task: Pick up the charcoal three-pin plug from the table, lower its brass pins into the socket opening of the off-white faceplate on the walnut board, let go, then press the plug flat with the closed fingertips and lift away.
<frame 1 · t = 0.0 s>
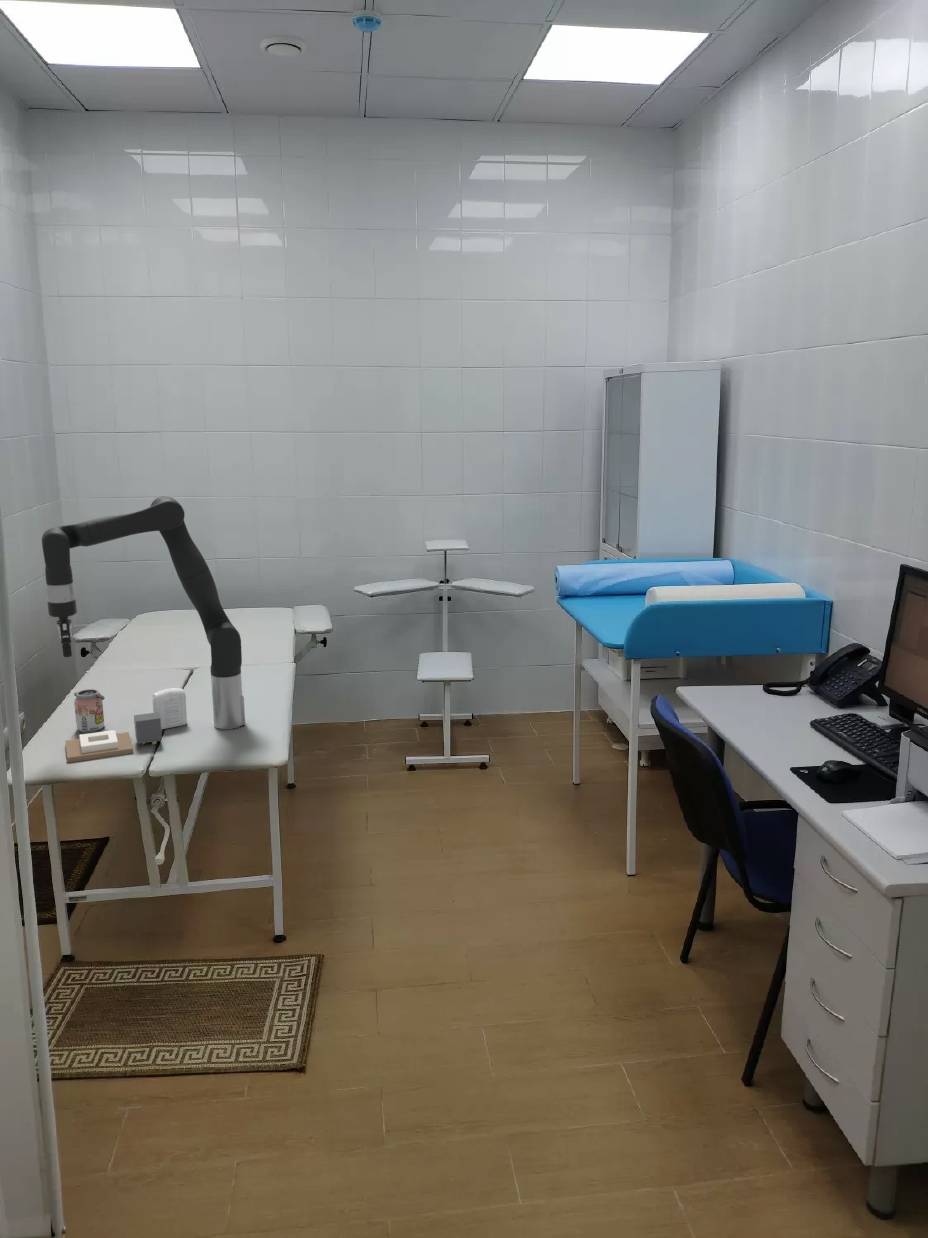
hand: (67, 652, 275), 29 cm above the table, tool pointing down, fingers open, 8 cm apart
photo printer: (171, 726, 299), on the table
beverage can: (92, 728, 297), on the table
plug: (149, 743, 285), on the table
socket: (99, 749, 281), on the table
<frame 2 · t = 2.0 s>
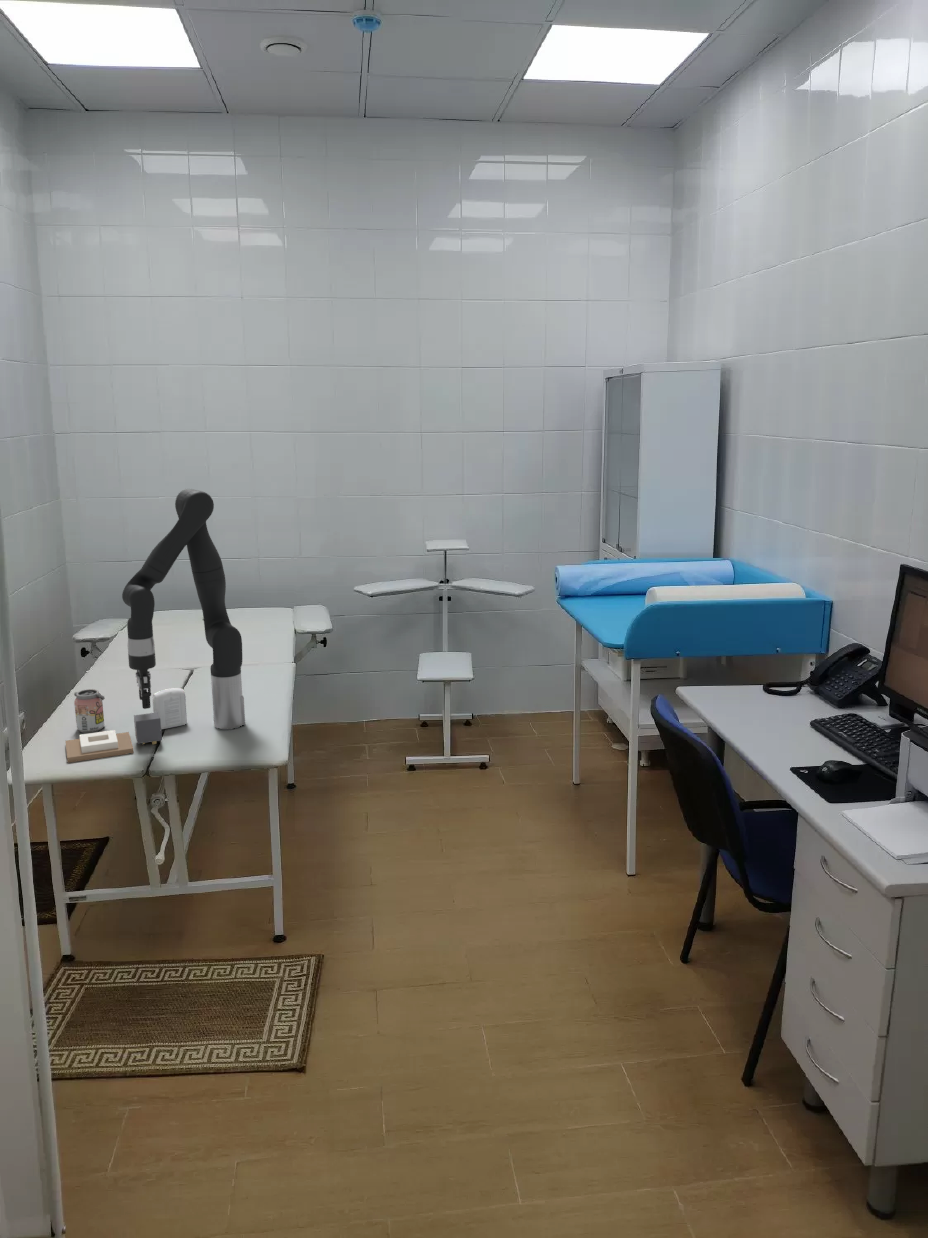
hand: (145, 703, 282), 13 cm above the table, tool pointing down, fingers open, 8 cm apart
nothing on the table moved.
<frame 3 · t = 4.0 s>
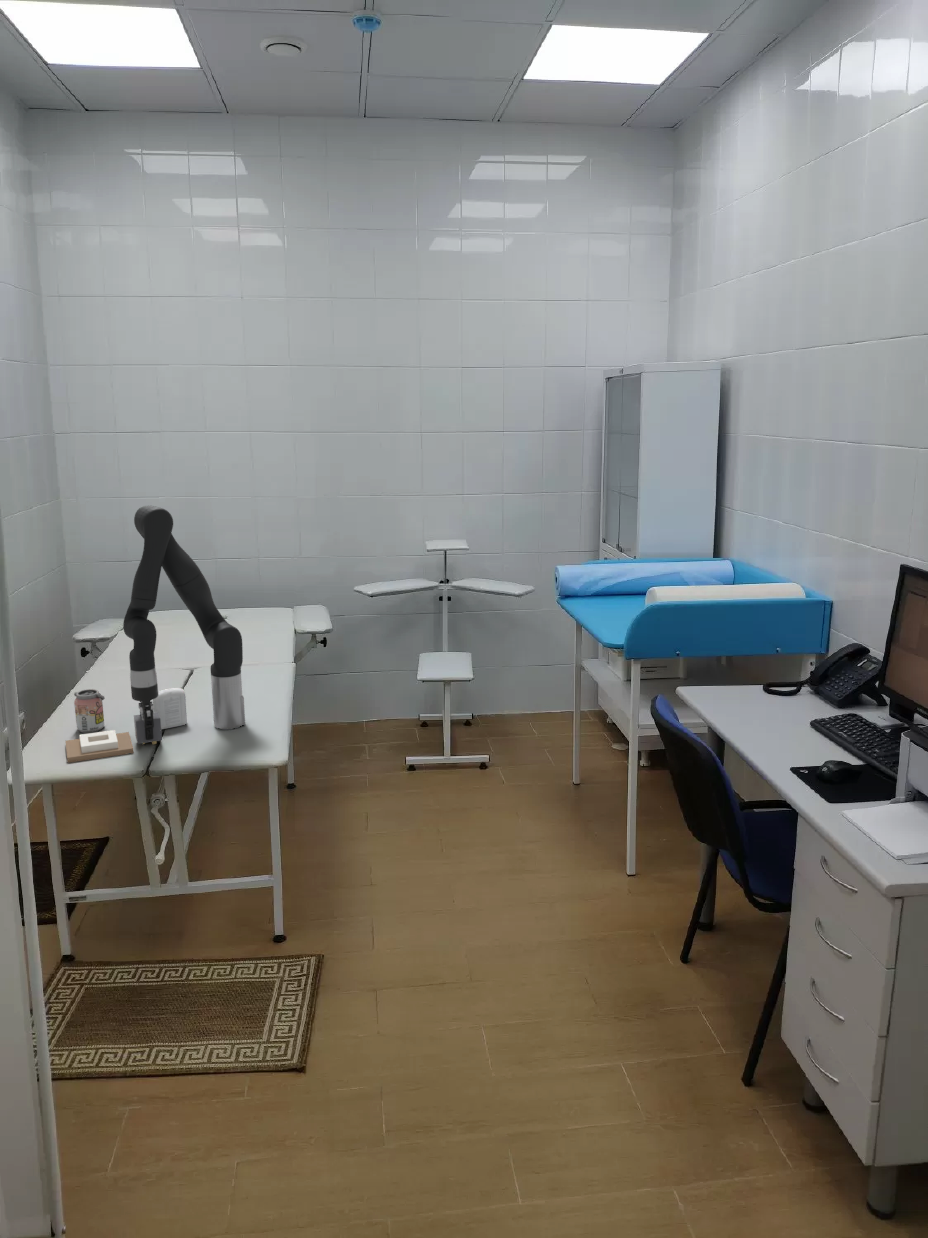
hand: (148, 735, 285), 3 cm above the table, tool pointing down, fingers closed on plug, 5 cm apart
plug: (149, 743, 285), on the table, touching gripper
everything else where it was.
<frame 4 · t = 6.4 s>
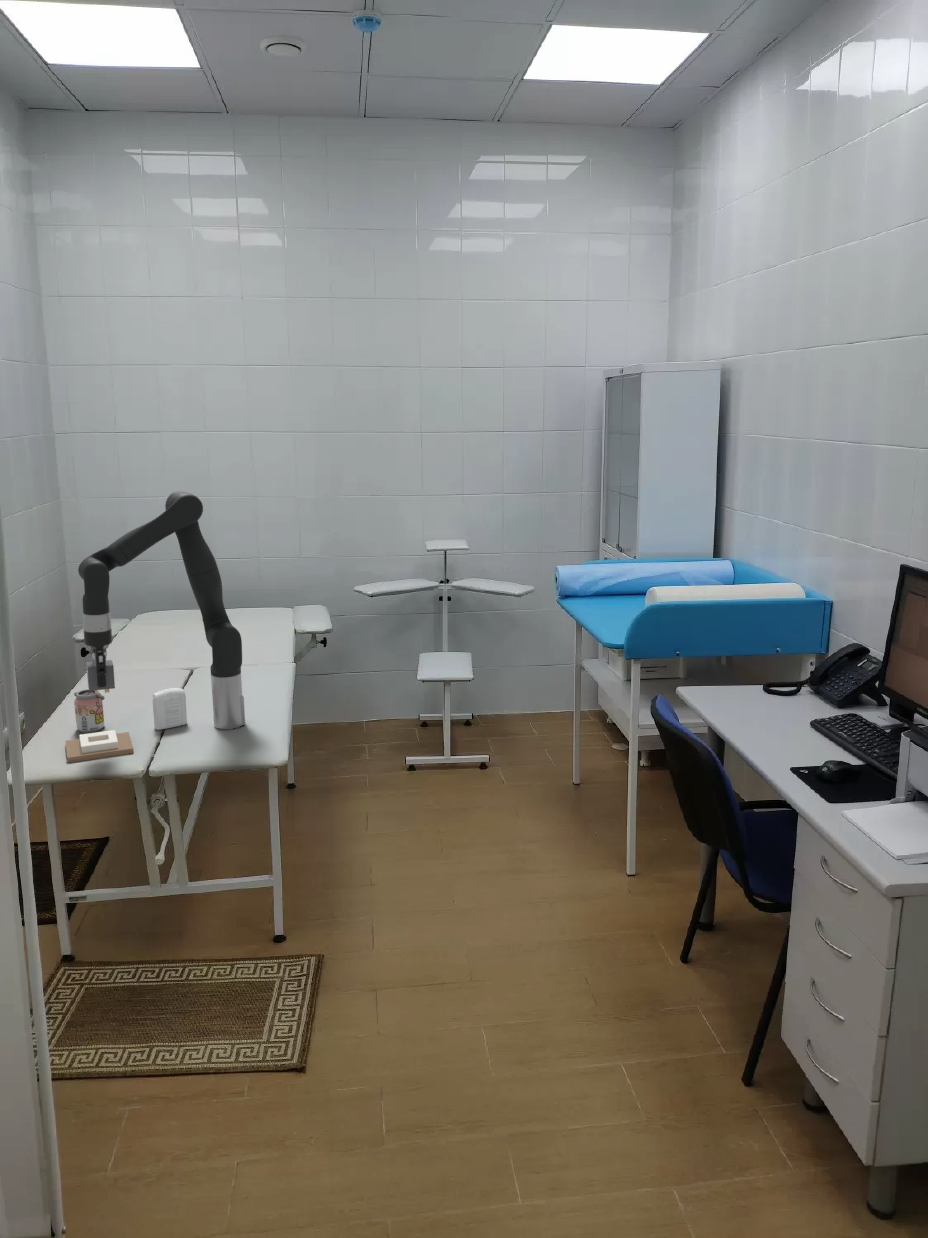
hand: (101, 683, 276), 20 cm above the table, tool pointing down, fingers closed on plug, 5 cm apart
plug: (101, 691, 277), point 18 cm above the table, touching gripper
everything else where it was.
when the fingers open (5 cm above the table, at t = 9.2 s): plug stays where it is, resting on socket.
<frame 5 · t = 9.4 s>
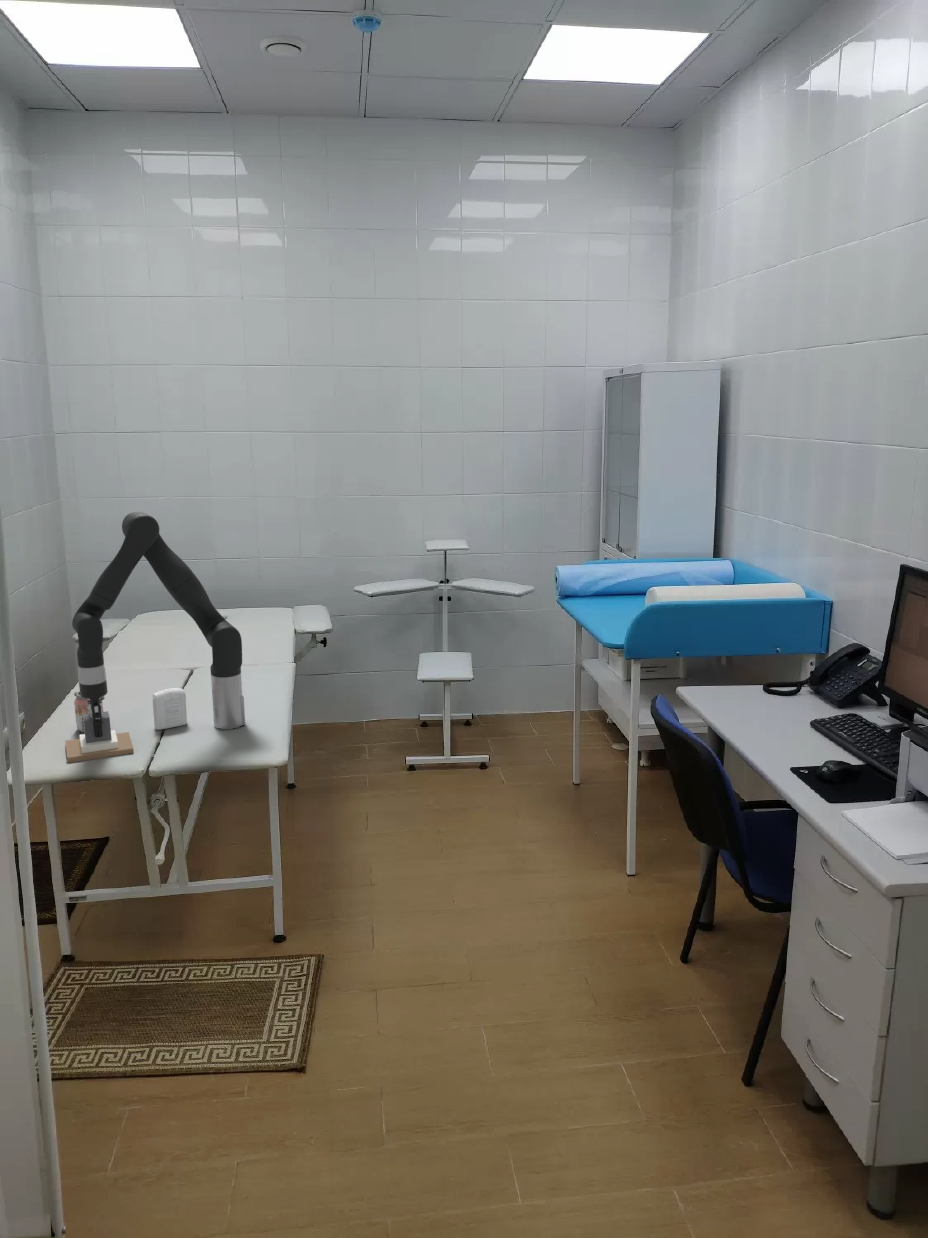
hand: (97, 732, 279), 5 cm above the table, tool pointing down, fingers open, 7 cm apart
plug: (98, 743, 280), point 2 cm above the table, touching socket
everything else where it was.
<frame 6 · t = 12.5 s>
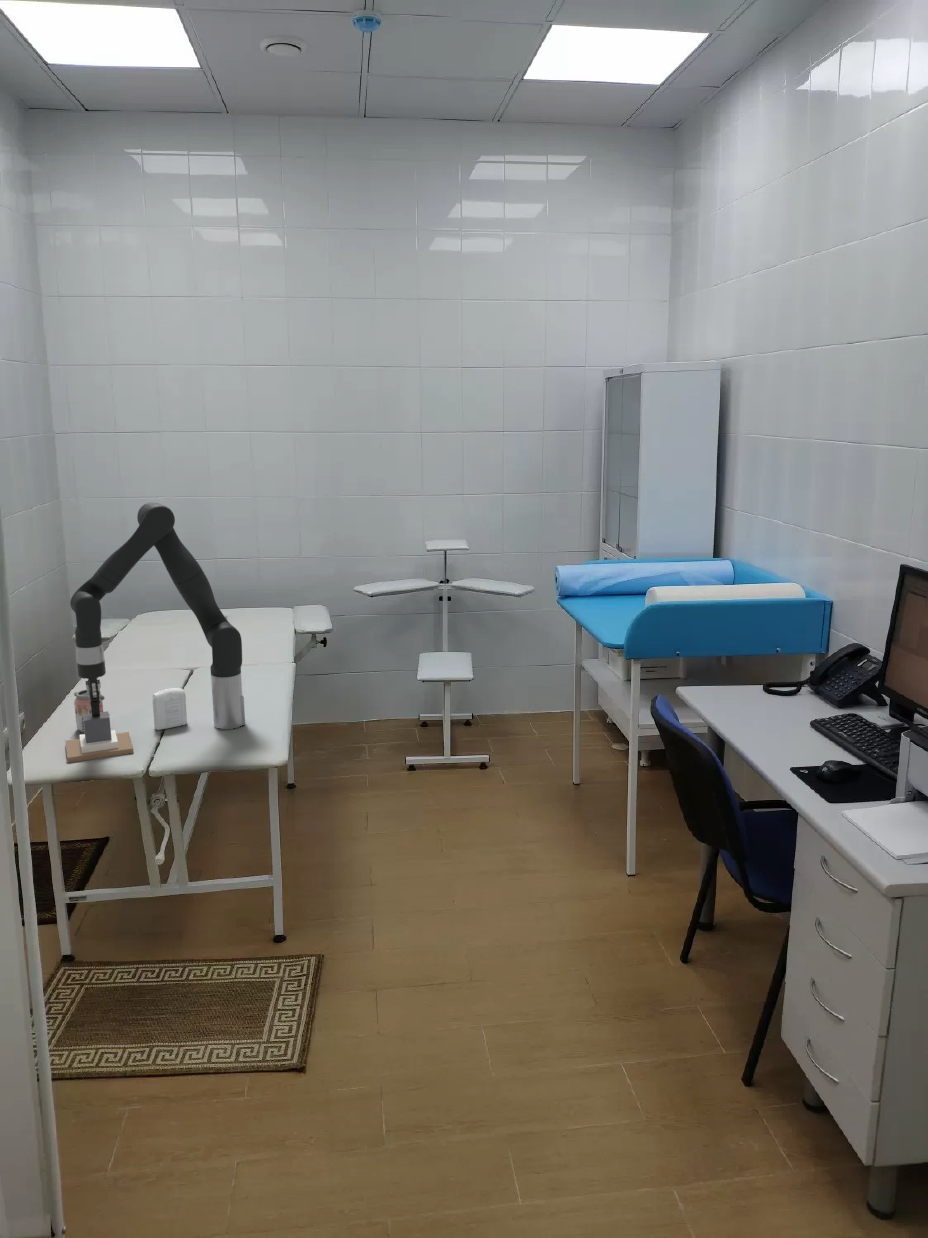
hand: (96, 716, 278), 10 cm above the table, tool pointing down, fingers closed
plug: (98, 743, 280), point 2 cm above the table, touching gripper, socket
everything else where it was.
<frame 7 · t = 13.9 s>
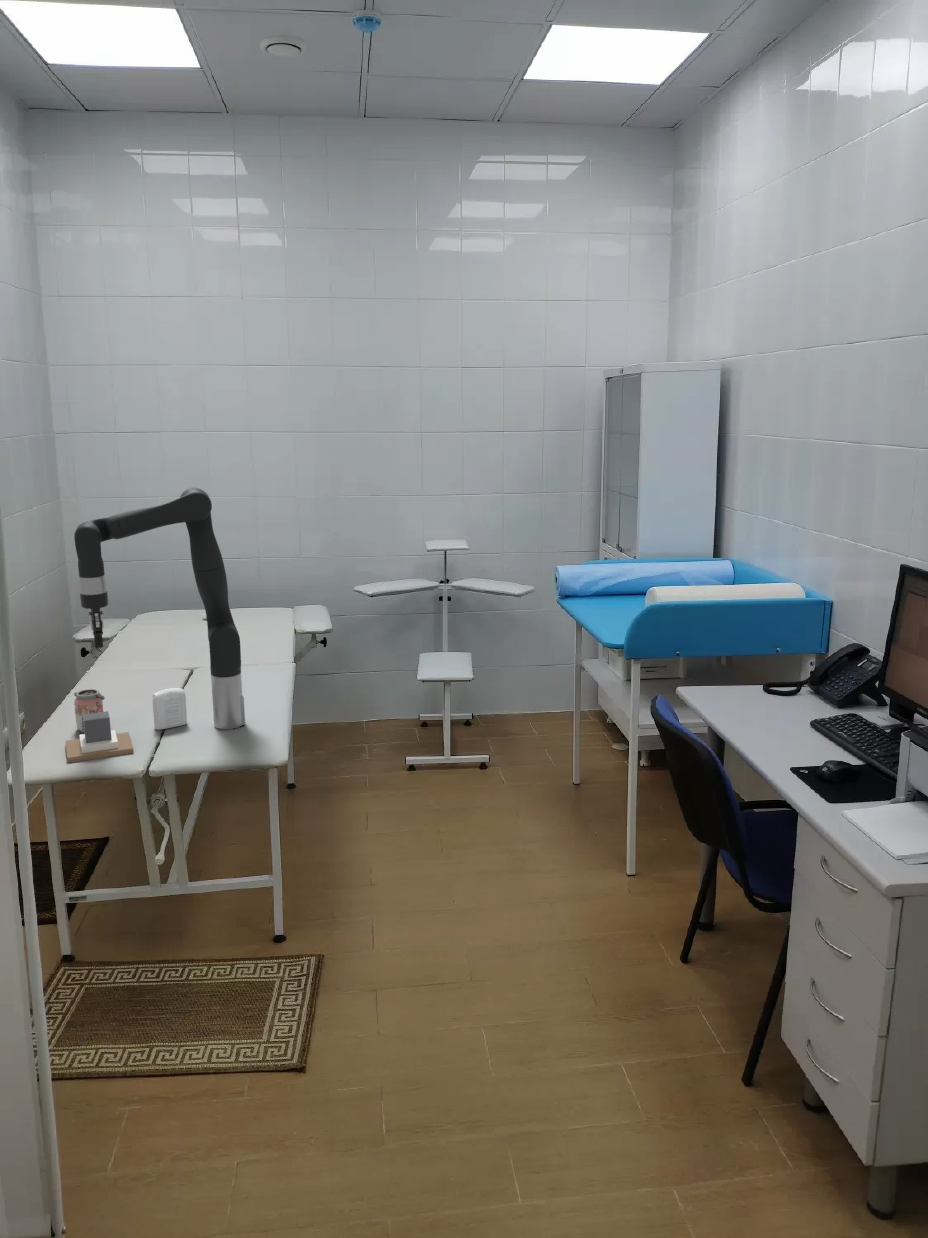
hand: (99, 647, 282), 29 cm above the table, tool pointing down, fingers closed
plug: (98, 743, 280), point 2 cm above the table, touching socket
everything else where it was.
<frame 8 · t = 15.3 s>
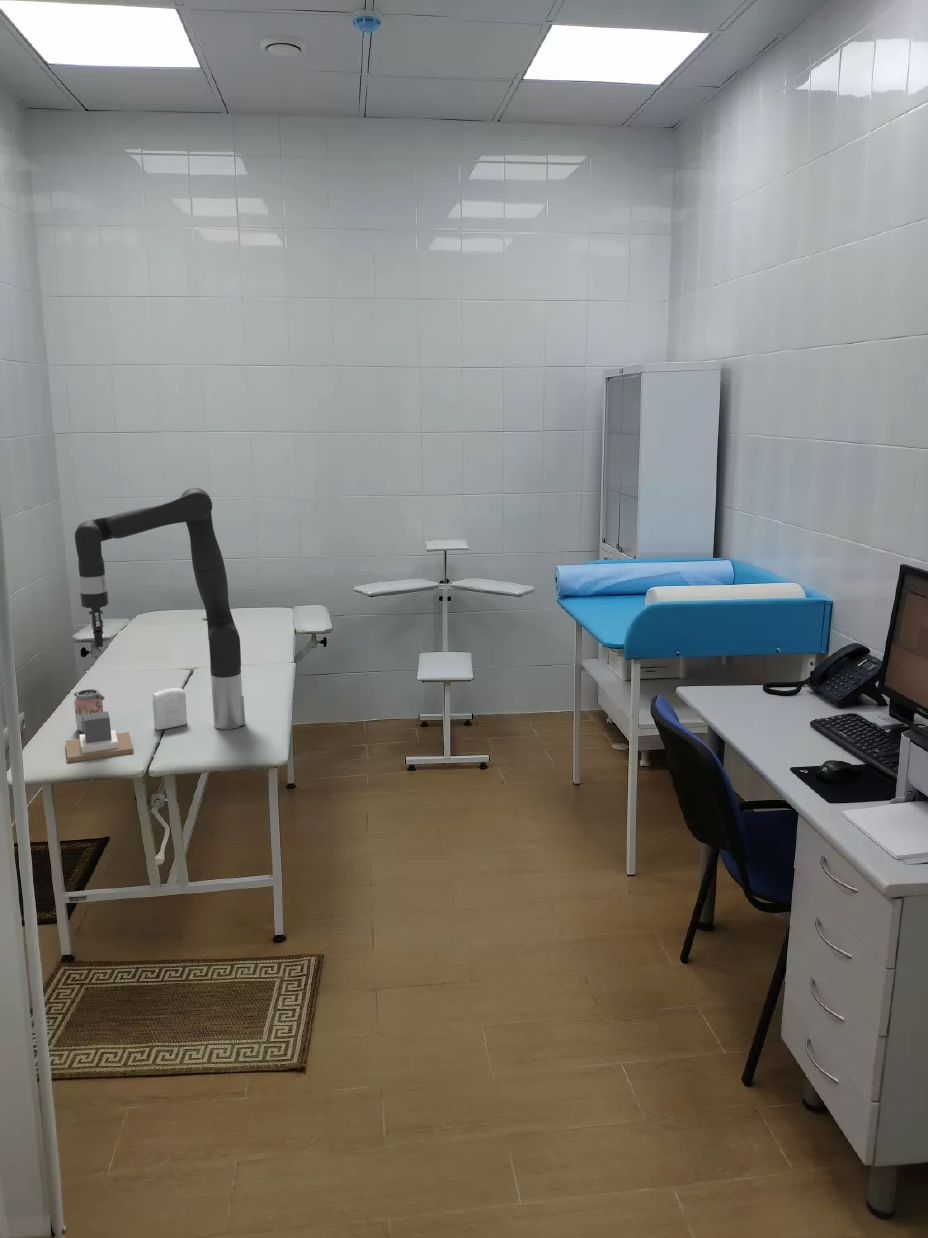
hand: (99, 646, 282), 29 cm above the table, tool pointing down, fingers closed
nothing on the table moved.
at the end: plug 0.0 cm off-centre on the socket, point 2.0 cm above the socket's base; plug tilted 0°; the gripper is holding nothing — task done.
